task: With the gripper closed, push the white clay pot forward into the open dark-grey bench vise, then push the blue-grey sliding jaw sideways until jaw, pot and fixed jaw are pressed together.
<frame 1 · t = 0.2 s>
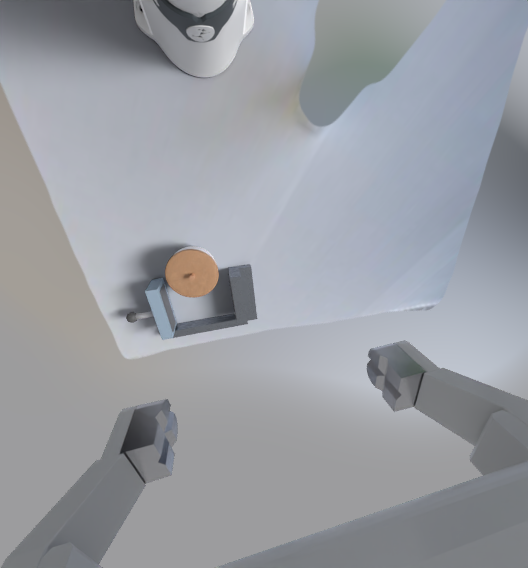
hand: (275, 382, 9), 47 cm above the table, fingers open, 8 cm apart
vise body: (237, 289, 59), on the table
jaw: (147, 311, 53), point 3 cm above the table, slide at 0.0 cm
lidded jar: (195, 262, 54), on the table
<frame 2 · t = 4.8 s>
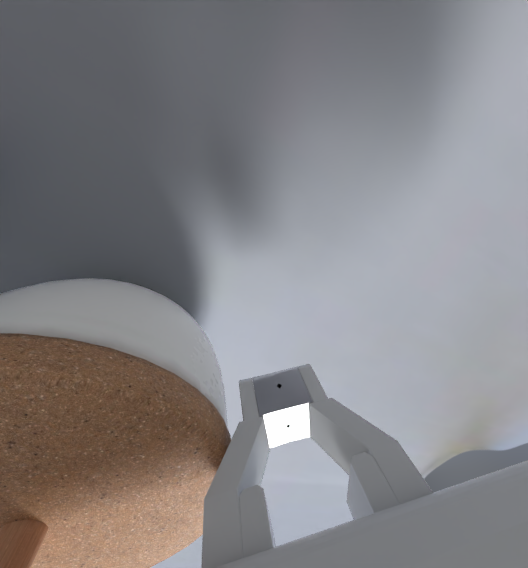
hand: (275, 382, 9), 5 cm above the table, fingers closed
lidded jar: (130, 334, 13), on the table, touching gripper
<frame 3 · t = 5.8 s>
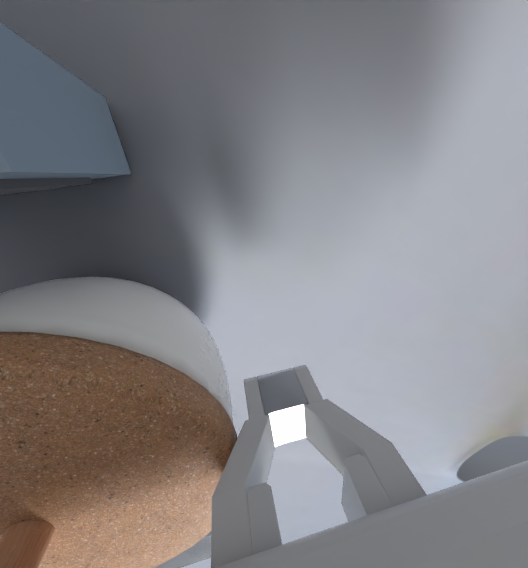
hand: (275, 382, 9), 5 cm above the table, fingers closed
vise body: (127, 445, 16), on the table
lidded jar: (132, 333, 13), on the table, touching gripper
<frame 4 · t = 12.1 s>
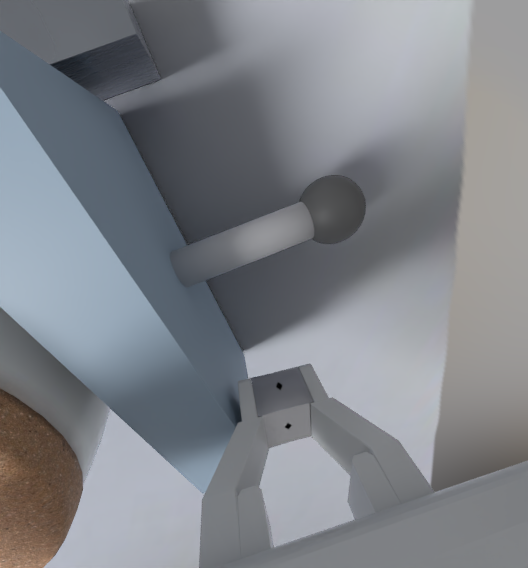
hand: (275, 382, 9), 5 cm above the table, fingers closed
jaw: (247, 272, 9), point 3 cm above the table, slide at 1.4 cm, touching gripper
lidded jar: (29, 324, 11), on the table
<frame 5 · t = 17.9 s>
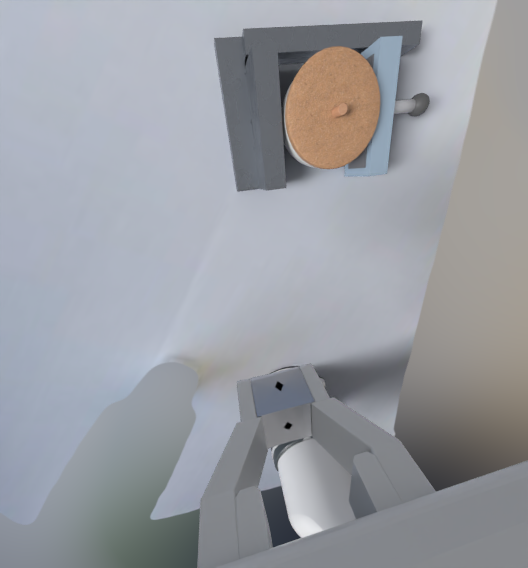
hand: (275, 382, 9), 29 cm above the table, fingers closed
vise body: (258, 134, 30), on the table
jaw: (392, 116, 30), point 3 cm above the table, slide at 4.5 cm
lidded jar: (308, 127, 31), on the table
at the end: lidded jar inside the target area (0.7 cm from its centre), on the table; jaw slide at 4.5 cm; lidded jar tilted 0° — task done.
